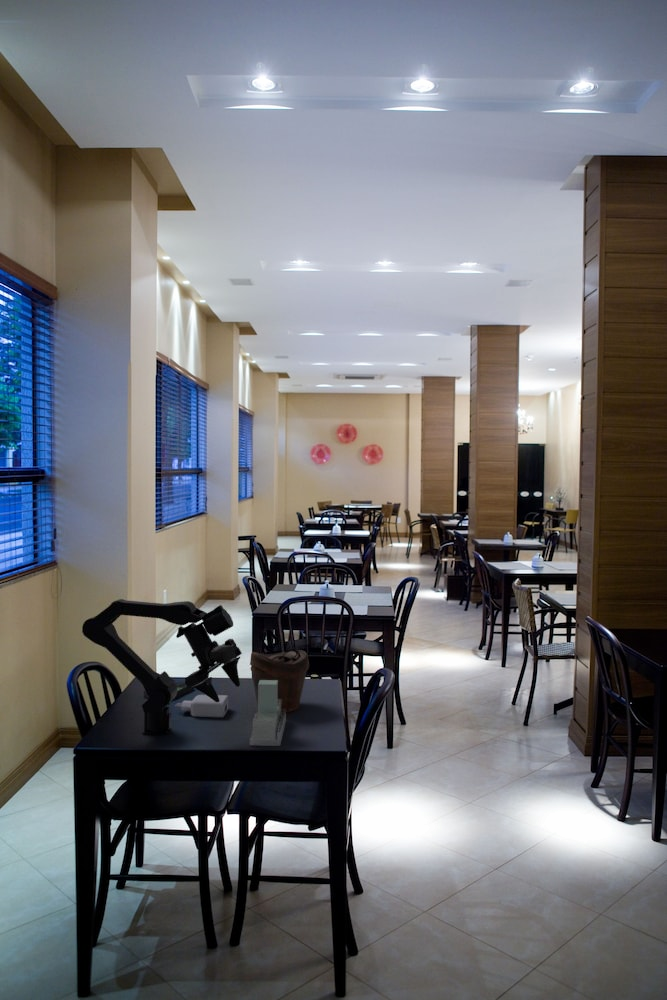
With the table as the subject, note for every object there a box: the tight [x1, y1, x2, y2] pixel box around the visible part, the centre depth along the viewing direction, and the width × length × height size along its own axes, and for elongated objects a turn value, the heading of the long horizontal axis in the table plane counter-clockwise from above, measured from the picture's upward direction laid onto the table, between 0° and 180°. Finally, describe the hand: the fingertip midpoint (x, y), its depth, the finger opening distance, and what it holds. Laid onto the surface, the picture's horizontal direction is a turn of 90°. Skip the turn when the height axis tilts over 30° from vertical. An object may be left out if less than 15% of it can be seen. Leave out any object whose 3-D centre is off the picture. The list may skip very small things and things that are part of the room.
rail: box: [249, 699, 287, 747], centre depth 209 cm, size 8×21×6 cm, turn 0°
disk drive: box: [143, 681, 195, 701], centre depth 247 cm, size 10×3×15 cm
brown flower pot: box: [249, 648, 310, 713], centre depth 234 cm, size 18×20×18 cm
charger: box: [174, 694, 229, 718], centre depth 226 cm, size 5×9×15 cm
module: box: [257, 680, 278, 713], centre depth 209 cm, size 5×4×12 cm
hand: (228, 693), depth 207 cm, fingers open, 9 cm apart
